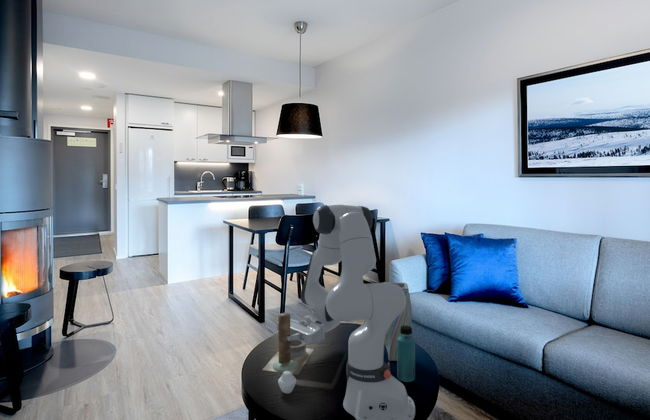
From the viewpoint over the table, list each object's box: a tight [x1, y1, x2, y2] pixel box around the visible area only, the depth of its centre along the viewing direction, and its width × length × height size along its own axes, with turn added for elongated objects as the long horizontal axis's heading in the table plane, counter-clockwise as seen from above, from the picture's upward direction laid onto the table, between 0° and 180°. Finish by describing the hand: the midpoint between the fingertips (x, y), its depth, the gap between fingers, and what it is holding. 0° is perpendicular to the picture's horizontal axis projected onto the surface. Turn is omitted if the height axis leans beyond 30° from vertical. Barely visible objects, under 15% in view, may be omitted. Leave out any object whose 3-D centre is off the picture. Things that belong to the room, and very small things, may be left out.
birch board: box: [262, 340, 315, 375], centre depth 149 cm, size 14×22×6 cm, turn 166°
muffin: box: [277, 371, 297, 394], centre depth 128 cm, size 6×6×7 cm
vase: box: [382, 281, 413, 362], centre depth 152 cm, size 14×14×30 cm
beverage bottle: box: [396, 326, 416, 383], centre depth 134 cm, size 6×7×20 cm
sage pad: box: [273, 360, 296, 373], centre depth 143 cm, size 9×9×1 cm
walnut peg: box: [277, 312, 291, 364], centre depth 142 cm, size 4×4×18 cm
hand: (282, 336), depth 142 cm, fingers closed on walnut peg, 4 cm apart
